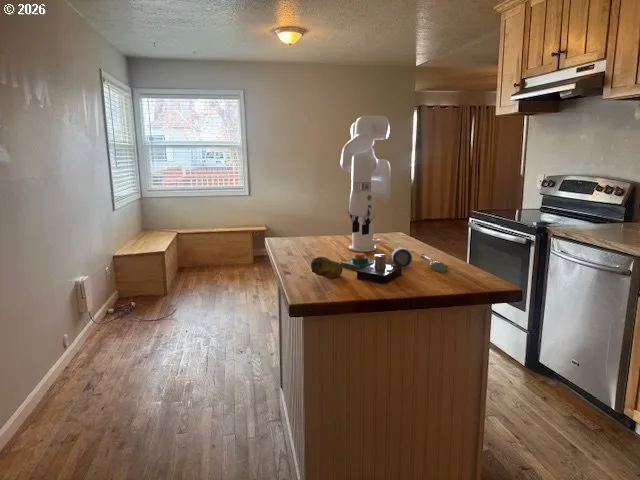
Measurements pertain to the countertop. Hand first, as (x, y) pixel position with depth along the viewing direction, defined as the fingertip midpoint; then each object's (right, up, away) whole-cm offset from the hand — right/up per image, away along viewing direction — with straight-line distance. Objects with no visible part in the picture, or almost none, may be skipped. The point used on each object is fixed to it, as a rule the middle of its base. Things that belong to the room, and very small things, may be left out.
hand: (360, 232), depth 172 cm
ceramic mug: (+15, -13, +2) cm, 20 cm away
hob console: (+6, -16, -12) cm, 21 cm away
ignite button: (0, -10, +2) cm, 10 cm away
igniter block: (0, -13, +3) cm, 13 cm away
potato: (-13, -17, -13) cm, 25 cm away
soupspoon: (+29, -13, +5) cm, 32 cm away
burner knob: (+6, -13, -13) cm, 19 cm away
